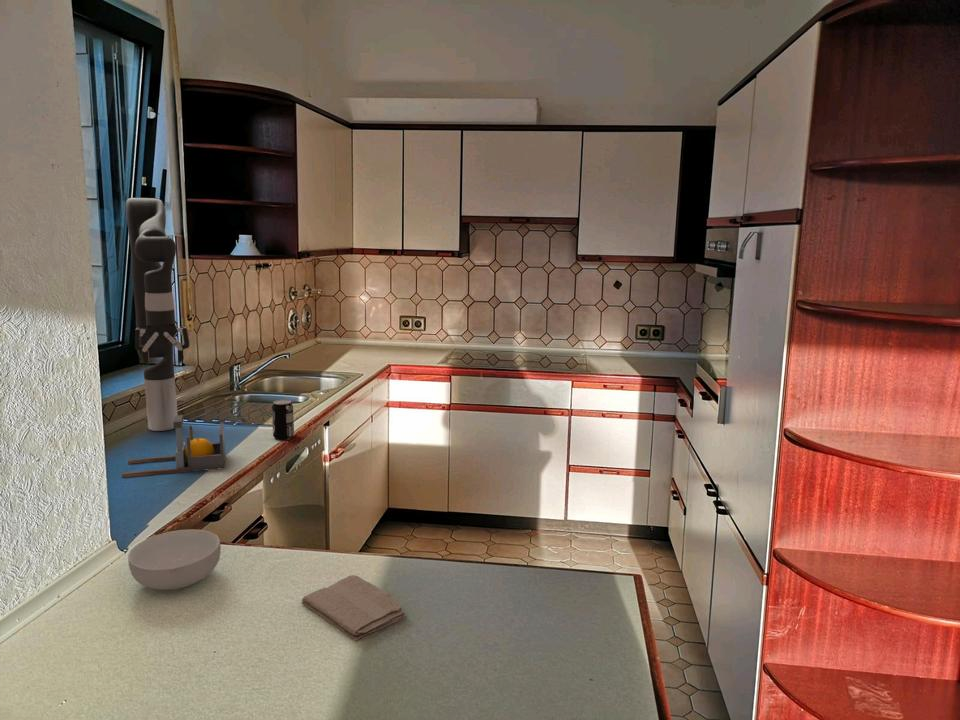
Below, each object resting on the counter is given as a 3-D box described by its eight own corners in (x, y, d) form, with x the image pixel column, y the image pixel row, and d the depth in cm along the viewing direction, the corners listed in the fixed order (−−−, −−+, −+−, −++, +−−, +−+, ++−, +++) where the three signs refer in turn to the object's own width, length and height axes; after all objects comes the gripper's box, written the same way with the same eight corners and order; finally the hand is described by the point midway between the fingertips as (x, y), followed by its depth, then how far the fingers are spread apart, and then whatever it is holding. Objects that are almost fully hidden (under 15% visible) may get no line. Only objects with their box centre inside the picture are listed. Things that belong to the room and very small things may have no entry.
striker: (179, 459, 209) (175, 414, 207) (186, 458, 210) (183, 413, 207) (176, 469, 201) (172, 423, 198) (184, 469, 201) (180, 422, 199)
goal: (191, 457, 212) (189, 425, 210) (225, 454, 215) (223, 422, 213) (188, 471, 200) (186, 437, 199) (224, 468, 203) (222, 434, 201)
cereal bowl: (150, 560, 149) (148, 529, 148) (232, 559, 150) (230, 527, 149) (115, 604, 133) (112, 568, 131) (207, 602, 134) (205, 567, 132)
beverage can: (271, 435, 233) (269, 400, 231) (291, 433, 236) (290, 398, 234) (275, 441, 228) (274, 405, 225) (296, 438, 231) (294, 402, 228)
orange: (205, 469, 203) (204, 443, 201) (179, 467, 204) (177, 442, 202) (219, 459, 210) (218, 435, 209) (194, 458, 212) (192, 433, 210)
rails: (128, 463, 206) (128, 459, 206) (191, 457, 212) (191, 454, 211) (121, 477, 195) (121, 474, 195) (188, 471, 200) (188, 468, 200)
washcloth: (357, 647, 121) (357, 630, 121) (298, 607, 133) (298, 592, 133) (410, 619, 130) (410, 604, 129) (350, 584, 142) (350, 570, 141)
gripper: (187, 305, 209) (191, 359, 213) (134, 306, 205) (138, 361, 208) (186, 309, 202) (189, 365, 206) (130, 310, 198) (135, 367, 201)
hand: (163, 363), depth 207 cm, fingers open, 8 cm apart
